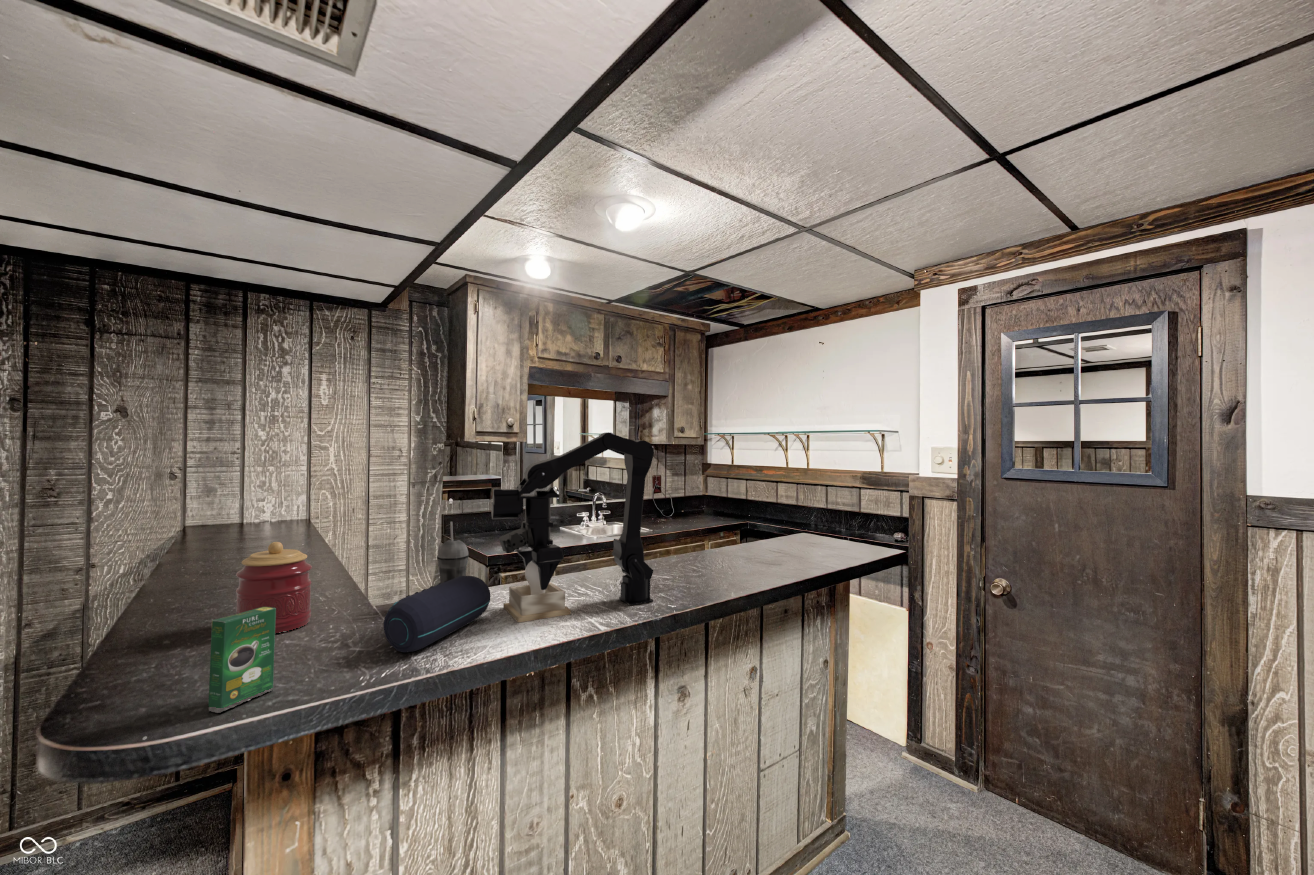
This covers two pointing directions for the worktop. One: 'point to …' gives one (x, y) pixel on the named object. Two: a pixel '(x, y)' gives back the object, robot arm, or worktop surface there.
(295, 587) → the canister
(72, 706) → the worktop surface
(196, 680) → the worktop surface
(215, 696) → the coffee box
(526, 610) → the box
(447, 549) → the beverage cup
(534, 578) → the lightbulb
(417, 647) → the portable speaker
